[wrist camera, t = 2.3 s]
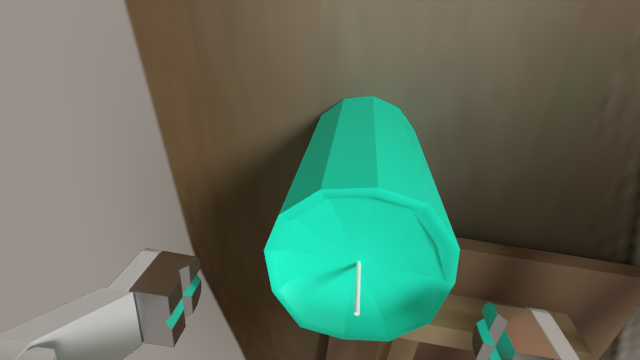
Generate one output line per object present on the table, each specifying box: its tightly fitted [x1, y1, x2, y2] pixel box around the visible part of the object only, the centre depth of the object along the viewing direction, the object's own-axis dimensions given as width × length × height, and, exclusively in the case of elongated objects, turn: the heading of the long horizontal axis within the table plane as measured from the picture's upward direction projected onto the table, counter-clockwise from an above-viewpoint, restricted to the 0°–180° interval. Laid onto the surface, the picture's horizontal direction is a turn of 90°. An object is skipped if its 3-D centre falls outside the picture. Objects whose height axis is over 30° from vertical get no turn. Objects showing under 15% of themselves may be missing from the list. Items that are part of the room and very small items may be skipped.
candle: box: [264, 96, 460, 341], centre depth 14 cm, size 6×6×12 cm
